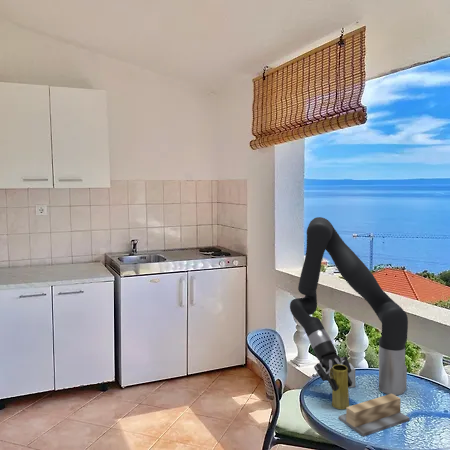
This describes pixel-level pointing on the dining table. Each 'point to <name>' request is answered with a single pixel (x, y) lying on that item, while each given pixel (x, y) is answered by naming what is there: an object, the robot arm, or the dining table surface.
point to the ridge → (374, 415)
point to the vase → (340, 387)
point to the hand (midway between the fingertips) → (343, 388)
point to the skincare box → (352, 375)
